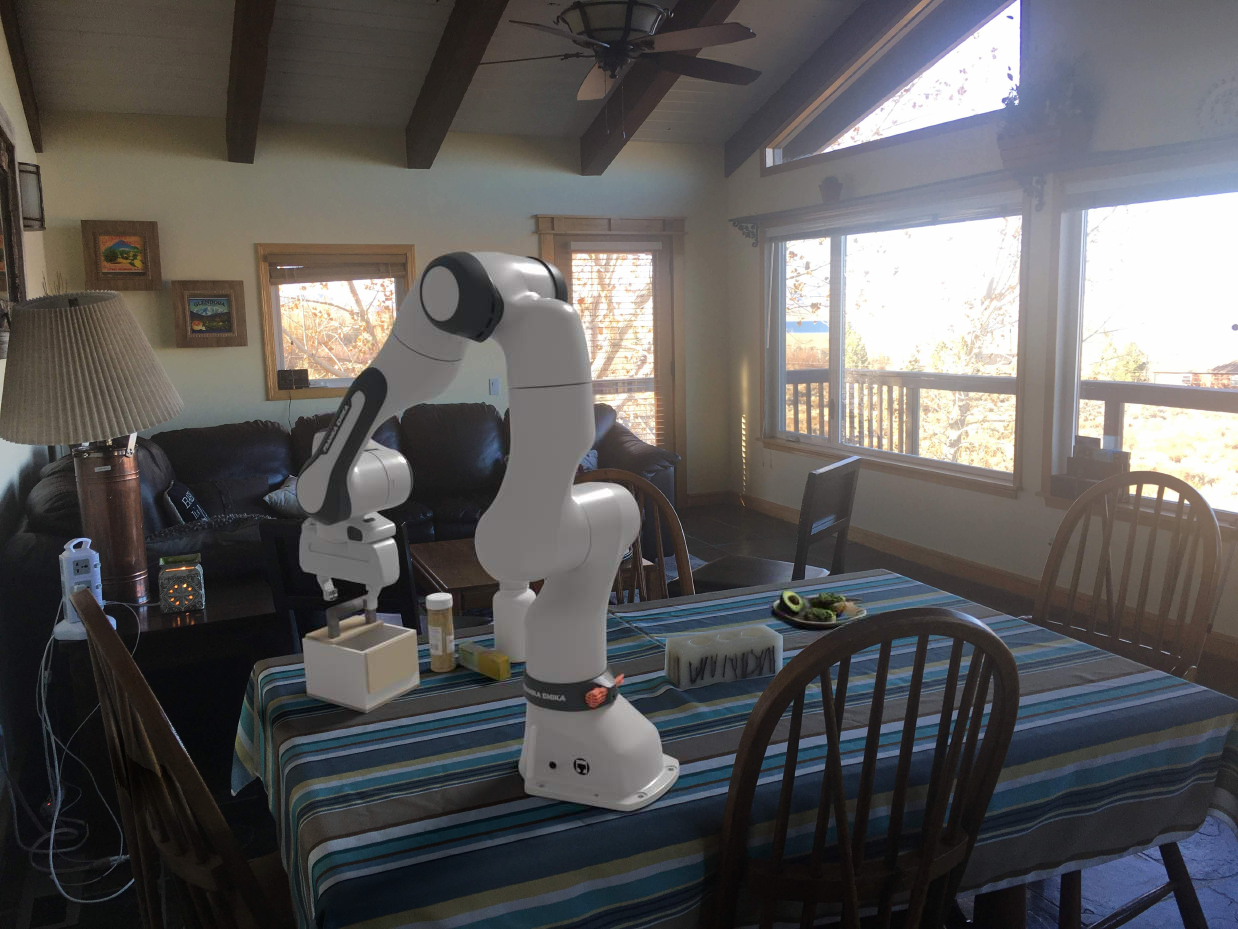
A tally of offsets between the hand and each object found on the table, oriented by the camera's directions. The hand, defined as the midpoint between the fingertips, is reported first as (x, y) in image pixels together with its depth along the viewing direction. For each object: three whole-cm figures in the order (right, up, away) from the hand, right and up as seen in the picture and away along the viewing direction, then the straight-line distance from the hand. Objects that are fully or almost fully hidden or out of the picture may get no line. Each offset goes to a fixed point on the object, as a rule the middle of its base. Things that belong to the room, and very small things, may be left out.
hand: (350, 604), depth 154 cm
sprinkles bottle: (+13, -13, +11) cm, 22 cm away
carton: (+2, -15, +2) cm, 15 cm away
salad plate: (+85, -8, +34) cm, 92 cm away
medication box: (+21, -14, +9) cm, 27 cm away
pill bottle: (+26, -12, +16) cm, 33 cm away
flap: (-1, -5, +2) cm, 5 cm away
